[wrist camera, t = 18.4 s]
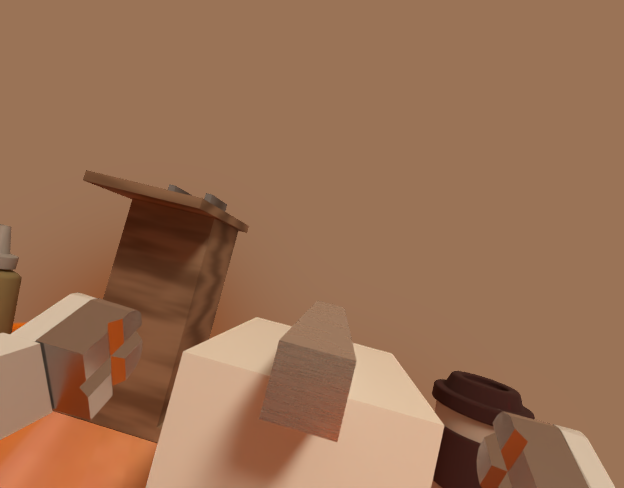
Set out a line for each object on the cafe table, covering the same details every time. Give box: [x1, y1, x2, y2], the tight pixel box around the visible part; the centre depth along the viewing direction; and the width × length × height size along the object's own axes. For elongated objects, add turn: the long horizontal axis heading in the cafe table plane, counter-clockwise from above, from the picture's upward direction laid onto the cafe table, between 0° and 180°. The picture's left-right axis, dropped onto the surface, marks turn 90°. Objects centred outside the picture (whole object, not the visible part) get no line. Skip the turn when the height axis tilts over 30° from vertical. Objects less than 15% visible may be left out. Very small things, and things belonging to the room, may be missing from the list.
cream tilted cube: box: [146, 317, 444, 488], centre depth 27 cm, size 18×14×16 cm
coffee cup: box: [431, 371, 534, 488], centre depth 39 cm, size 10×10×15 cm
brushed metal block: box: [259, 301, 356, 442], centre depth 27 cm, size 26×3×3 cm, turn 176°
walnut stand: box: [53, 170, 248, 443], centre depth 43 cm, size 18×16×28 cm
